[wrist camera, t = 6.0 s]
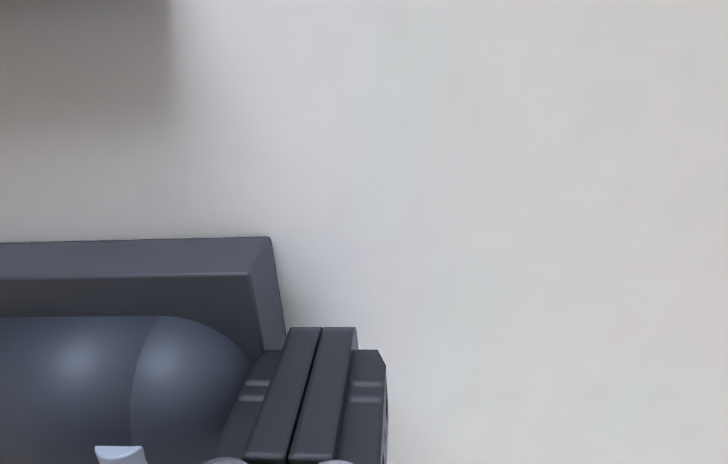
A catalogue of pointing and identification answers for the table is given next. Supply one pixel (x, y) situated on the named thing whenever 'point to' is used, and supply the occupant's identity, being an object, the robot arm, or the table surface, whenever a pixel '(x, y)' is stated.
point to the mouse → (129, 346)
